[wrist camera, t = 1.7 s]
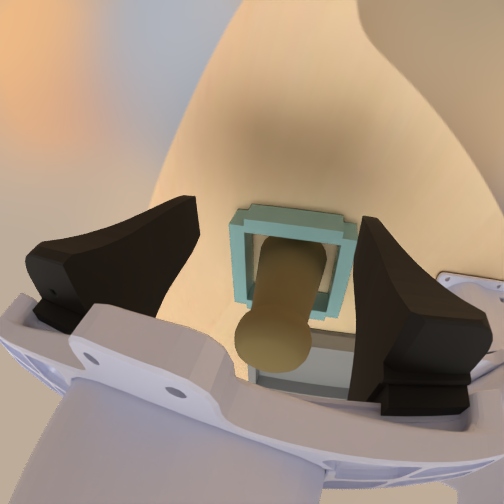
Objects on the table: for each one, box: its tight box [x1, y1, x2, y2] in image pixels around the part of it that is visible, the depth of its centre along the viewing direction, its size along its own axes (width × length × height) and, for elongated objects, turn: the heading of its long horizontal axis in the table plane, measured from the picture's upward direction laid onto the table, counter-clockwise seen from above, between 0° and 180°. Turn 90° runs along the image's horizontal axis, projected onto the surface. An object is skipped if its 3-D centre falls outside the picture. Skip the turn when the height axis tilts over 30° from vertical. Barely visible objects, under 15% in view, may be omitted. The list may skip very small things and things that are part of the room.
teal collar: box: [229, 204, 358, 321], centre depth 25 cm, size 10×10×2 cm
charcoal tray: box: [248, 328, 356, 400], centre depth 34 cm, size 16×13×2 cm
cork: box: [235, 236, 327, 373], centre depth 22 cm, size 6×6×11 cm
